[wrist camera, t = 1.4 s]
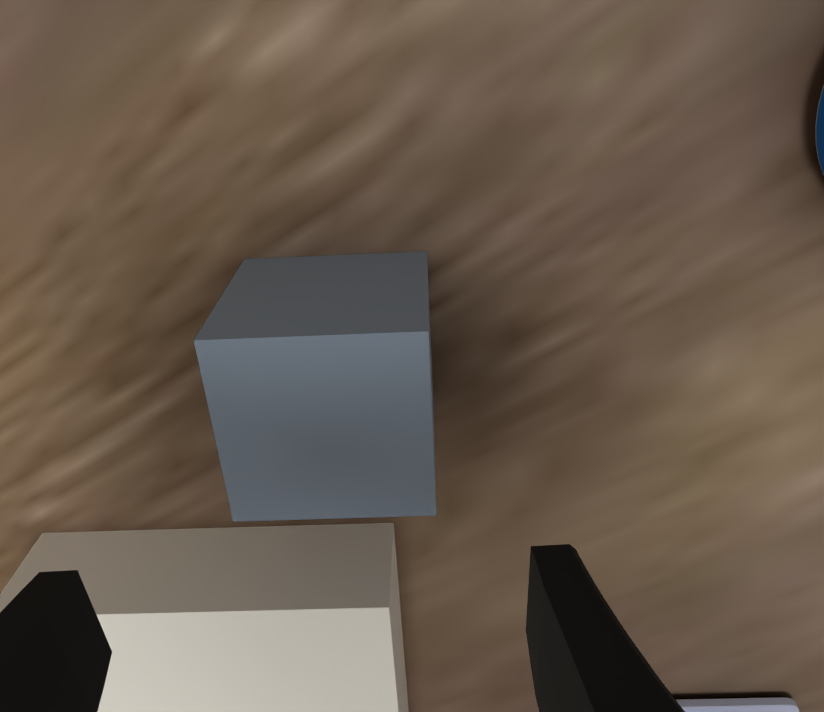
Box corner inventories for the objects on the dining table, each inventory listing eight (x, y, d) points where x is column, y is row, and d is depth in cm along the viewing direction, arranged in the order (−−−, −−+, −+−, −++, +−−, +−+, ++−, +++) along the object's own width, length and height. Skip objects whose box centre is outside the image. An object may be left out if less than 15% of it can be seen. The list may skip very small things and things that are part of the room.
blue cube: (433, 405, 22) (436, 515, 17) (270, 411, 22) (232, 521, 18) (427, 250, 19) (428, 331, 15) (245, 257, 20) (193, 340, 15)
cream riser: (411, 736, 30) (409, 838, 26) (129, 741, 30) (90, 842, 27) (394, 514, 24) (388, 607, 21) (47, 525, 25) (-16, 617, 21)
